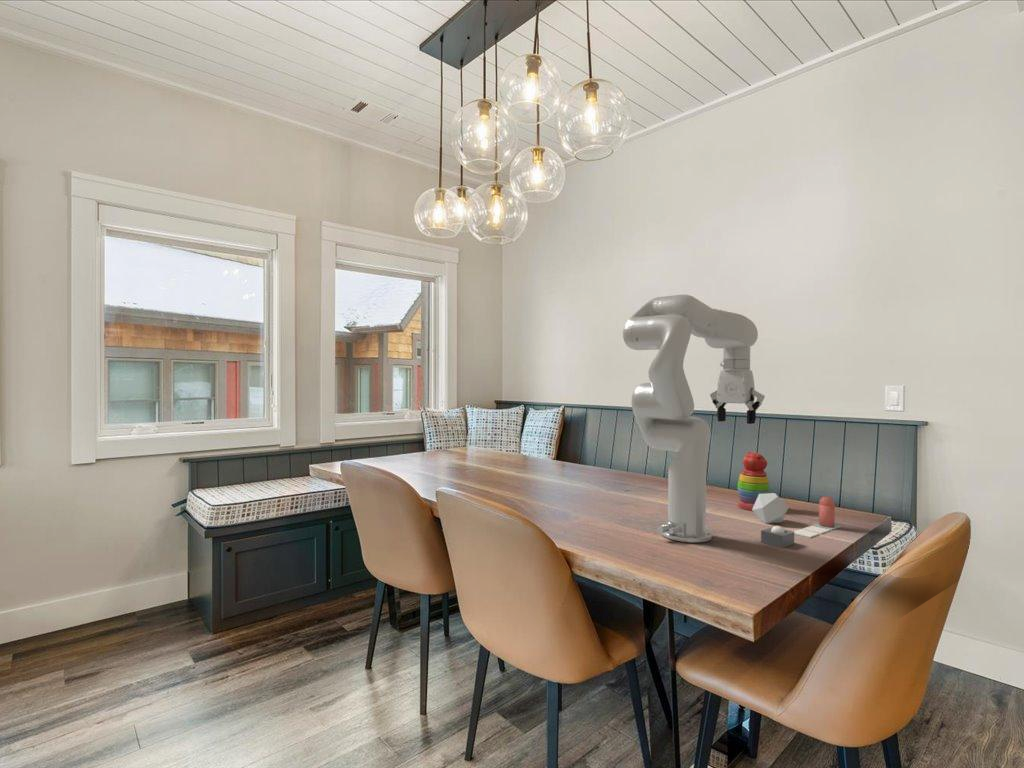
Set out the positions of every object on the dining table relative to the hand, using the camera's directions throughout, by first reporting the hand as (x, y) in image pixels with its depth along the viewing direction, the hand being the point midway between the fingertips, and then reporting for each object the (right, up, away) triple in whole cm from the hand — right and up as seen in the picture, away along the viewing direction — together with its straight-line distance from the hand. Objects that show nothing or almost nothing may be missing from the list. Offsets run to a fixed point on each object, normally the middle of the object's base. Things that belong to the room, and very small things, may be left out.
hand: (735, 422), depth 165 cm
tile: (+21, -29, -12) cm, 37 cm away
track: (+14, -29, -17) cm, 36 cm away
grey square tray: (0, -29, -27) cm, 39 cm away
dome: (0, -28, -27) cm, 39 cm away
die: (+7, -29, -6) cm, 30 cm away
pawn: (+21, -28, -12) cm, 37 cm away
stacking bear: (+10, -28, +10) cm, 32 cm away
